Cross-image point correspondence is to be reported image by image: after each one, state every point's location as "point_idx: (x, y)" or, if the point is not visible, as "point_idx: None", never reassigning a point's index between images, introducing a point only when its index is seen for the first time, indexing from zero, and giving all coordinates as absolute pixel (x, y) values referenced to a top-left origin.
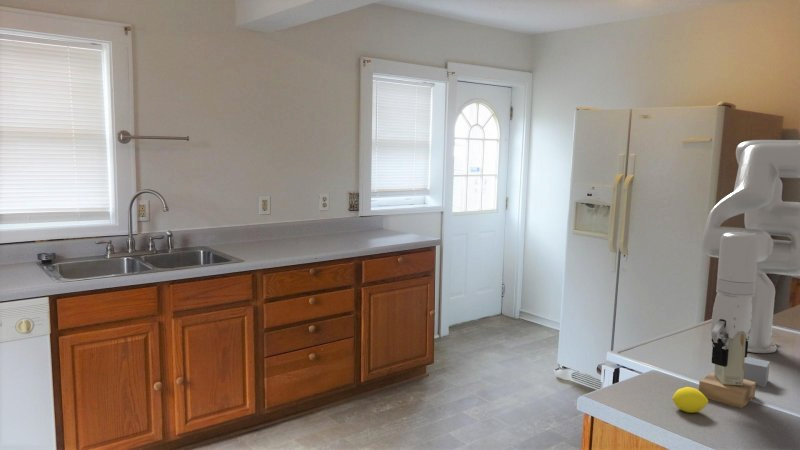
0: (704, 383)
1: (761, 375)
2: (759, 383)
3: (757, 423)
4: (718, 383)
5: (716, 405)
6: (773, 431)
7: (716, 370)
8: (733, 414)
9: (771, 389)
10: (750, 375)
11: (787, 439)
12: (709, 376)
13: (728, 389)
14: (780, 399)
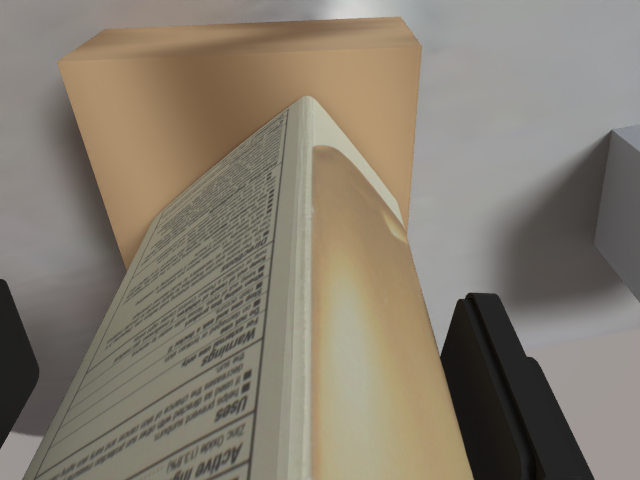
0: (74, 101)
1: (630, 266)
2: (605, 226)
3: (69, 347)
4: (156, 183)
5: (69, 172)
6: (60, 393)
7: (250, 155)
8: (51, 264)
9: (570, 273)
10: (634, 203)
11: (46, 428)
12: (245, 76)
13: (125, 255)
14: (445, 329)
